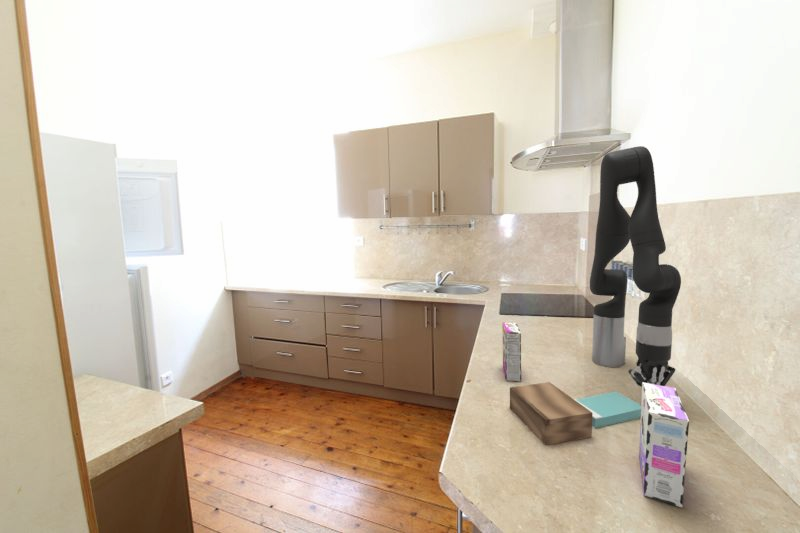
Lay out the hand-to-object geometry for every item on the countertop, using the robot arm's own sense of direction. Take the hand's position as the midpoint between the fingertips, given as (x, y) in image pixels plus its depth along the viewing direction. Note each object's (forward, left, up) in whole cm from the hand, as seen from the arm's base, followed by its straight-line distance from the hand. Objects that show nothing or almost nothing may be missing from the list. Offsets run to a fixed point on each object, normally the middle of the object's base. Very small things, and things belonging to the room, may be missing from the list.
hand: (650, 401), depth 91 cm
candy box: (+22, +22, -1) cm, 31 cm away
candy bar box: (+26, -27, -1) cm, 37 cm away
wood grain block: (+30, 0, -1) cm, 30 cm away
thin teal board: (+14, 0, -2) cm, 14 cm away
